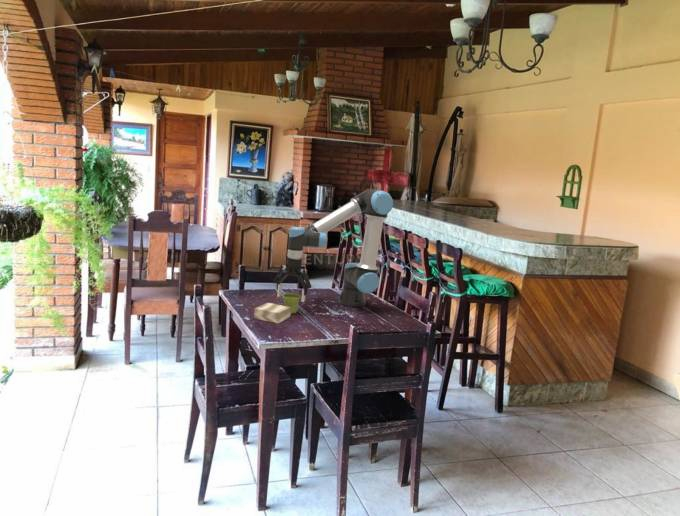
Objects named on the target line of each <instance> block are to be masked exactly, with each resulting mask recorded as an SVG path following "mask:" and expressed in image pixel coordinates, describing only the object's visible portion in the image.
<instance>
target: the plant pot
mask: <svg viewBox="0 0 680 516" xmlns="http://www.w3.org/2000/svg"><path fill="white" fill-rule="evenodd" d="M281 296H282V297H283V298H282V299H283V306H288V307H291V313H290V315H292V314H296V313H297V312H298V307H299V302H300V300H301V299H302V295H300V294H297V293H289V292H288V293H284V294H281Z"/></svg>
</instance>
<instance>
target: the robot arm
mask: <svg viewBox="0 0 680 516" xmlns="http://www.w3.org/2000/svg"><path fill="white" fill-rule="evenodd" d="M393 206H394V200H393V198H392V196H391V194H390V193H389V192H386V191H384V190H380V189H378V190H377V189H373V188H369V189H366V190H364V191H362V192H361V193H359V194H358V193H357V195H355V196H353V197H352V198H350V201H349V202H347V203H345V204H344V205H342V206H341V207H339V208H337V209H336V210H334V211H332V212H331V213H329V214H327V215H326V216H324V217H322V218H320V219H319V220H318V221H316V222H314V223H312V224H311V225H309V226H305V227H302V226H292V227H290V228H289V232H288V233H289V234H288V244H287V247H288V248H287V255H286V256H287V258H286V265H285V264H283V265H280V268H279V270H278V272H277V274H276V276H274V279H273V280H272V281H273V283H275V284H276V289H275V290H276V291H277V295H276V297H277V298H279V297H281V296H282V290H283V289H282V288H283V287H282V286H283V283H282V282H283V281H284V280H285V279H286V278H288V276H289V277H294V278H297V280H298V282H299V283H300V284H301V286H302V287H303V288H302V289H301V291H302V292H301V298H300V300H301V302H302V303H304V302H305V301H306V296H308V290H309V289H311V288H312V284H311V281H310V278H309V275H308V269H307V268H305V269H304V268H302V263H303V259H302V258H303V254H304V253H303V252H304V251H303V250H304V248H305V247H306V248H307V247H308V248H309V247H310V248H325V247H326V246H327V244H328V235H327V233H328V232H329V231H331V230H333V229H334V228H336V227H338V226H340V225H341V224H342V223H345V222H346V221H348V220H349V219H351V218H353V217H354V216H356V215H357V214H358V215H361V214H363V213H364V215H365V217H366V223H365V224H366V225H365V229H364V230H365V231H364V235H363V241H362V247H361V252H360V253H361V254H360V260H359V262H347V263H345V265H344V267H343V270H344V271H343V272H344V273H343V284H342V285H343V286H342V290H341V292H340V295H339V296H338V301H337V302H338V304H339V305H343V306H346V307H352V308H353V307H355V308H357V307H358V308H359V307H361V308H362V307H364V306H366V297H365V294H371V293H373V292H374V291H376V290H377V288H378V287H379V285H380V278H379V276H378V272H379V268H378V266H377V260H378V255H379V254H378V253H379V248H380V243H381V238H382V232H383V226H384V221H385V220H386V219H387V218H388V214H389V213H390V212H391V211H392V209H393ZM284 271H286V272H284ZM283 272H284V274H283ZM282 274H283V275H282Z"/></svg>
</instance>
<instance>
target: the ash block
mask: <svg viewBox="0 0 680 516" xmlns="http://www.w3.org/2000/svg"><path fill="white" fill-rule="evenodd" d="M253 313H254V314H253V319H255V320H259V321H265V322H268V323H273V322H274V324H280V323H282V322H283V321H285V320H288V319H289V318H291V314H290V313H291V307H288V306H284V305H282V304H281V305H280V304H278V303H272V302H266V303H264V304H261V305H259V306H257V307H255V308H254V312H253Z"/></svg>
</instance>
